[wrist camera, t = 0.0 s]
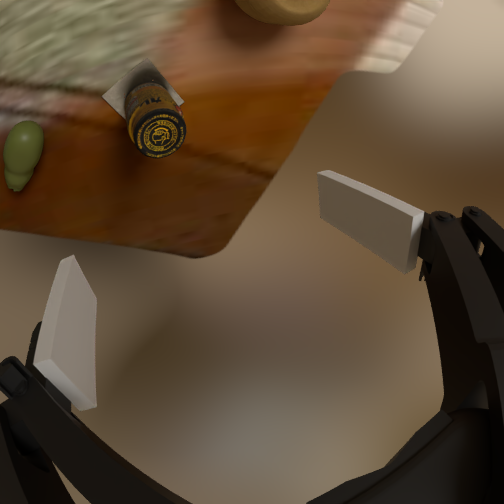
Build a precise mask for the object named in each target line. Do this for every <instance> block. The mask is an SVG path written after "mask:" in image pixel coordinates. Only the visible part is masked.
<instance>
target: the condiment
mask: <svg viewBox="0 0 504 504" xmlns="http://www.w3.org/2000/svg"><path fill="white" fill-rule="evenodd" d="M152 80H153V81H152ZM124 93H125V98H124ZM102 97H103V98H104V99H105V100H106V101H107V102H108V103H109V104H110V105H111V106H112V107H113V108H114V109H115V110H116V111H117V112H118V113H119V114H120V115H121V116H122V117H123V118H124V119H125V120H126V123H127V130H128V132H129V136H130V138H131V140H132V141H133V142H134V143H135V146H136V147H137V149H138V150H139V151H140V152H141V153H142V154H144V155H145V156H147V157H152V158H163V157H166V156H169V155H171V154H172V153H174V152H175V151H177V150H178V149H179V148H180V147H181V145H182V143H183V142H184V139H185V136H186V124H185V121H184V117H183V113H182V111H181V109H180V107H179V106H180V105H181V104H182V103H184V101H183V100H182V99H181V97H180V96H179V95H178V94H177V93H176V91H175V90H174V89H173V88H172V87H171V85H170V84H169V83H168V82H167V81H166V79H165V78H164V77H163V76H162V75H161V74H160V72H159V71H158V70H157V69H156V68H155V66H154V65H153V64H152V63H151V62H150V61H149V59H148V58H146V59H145V60H144V61H142V62H141V63H140V64H138V65H137V66H136V67H135V68H134V69H132V70H131V71H130V72H129V73H127V74H126V75H125V76H124V77H123V78H122V79H120V80H119V81H118V82H117V83H116V84H115V85H114V86H113V87H111V88H110V89H109V90H108V91H107V92H106V93H105V94H104V95H103V96H102Z"/></svg>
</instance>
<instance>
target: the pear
mask: <svg viewBox="0 0 504 504" xmlns="http://www.w3.org/2000/svg"><path fill="white" fill-rule="evenodd" d="M43 144H44V134H43V130H42V128H41V127H40V125H38V124H37V123H36V122H33V121H22V122H20V123H18V124H16V125H15V126H14V127H13V128H12V130H11V131H10V133H9V135H8V137H7V139H6V142H5V146H4V151H3V159H4V163H5V170H4V174H5V180H6V183H7V185H8V187H9V188H12V189H13V190H14V192H15V191H20V190H22V189H23V188H24V186H25V185H26V184H27V182H28V181H29V180H30V178H31V176H32V175H33V172H34V167H35V166H36V165H37V163H38V161H39V159H40V156H41V153H42V149H43Z"/></svg>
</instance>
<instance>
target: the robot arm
mask: <svg viewBox="0 0 504 504" xmlns="http://www.w3.org/2000/svg"><path fill="white" fill-rule="evenodd" d="M317 176H318V189H319V205H320V218H322V219H323V220H325V221H327V222H328V223H330V224H331V225H333V226H334V227H336V228H337V229H339V230H340V231H342V232H343V233H345V234H347V235H348V236H350V237H351V238H353V239H354V240H356V241H357V242H359V243H360V244H362V245H363V246H365V247H366V248H368V249H369V250H371V251H372V252H373V253H375V254H377V255H378V256H379V257H381V258H382V259H384V260H385V261H386V262H388V263H389V264H391V265H392V266H394V267H395V268H396V269H398V270H399V271H401V272H402V273H403V274H406V273H408V272H409V271H411V270H412V269H414V268H415V267H416V262H417V257H418V256H419V257H420V258H422V259H423V262H422V267H421V272H420V276H419V281H421V279H422V277H423V276H424V277H425V280H424V281H426V285H427V289H428V293H429V298H430V302H431V307H432V311H433V317H434V322H435V327H436V333H437V339H438V345H439V351H440V358H441V367H442V376H443V386H444V398H443V402H442V405H441V408H440V411H439V412H438V413H437V414H436V415H435V416H434V417H433V418H432V419H431V420H430V421H428V422H427V423H426V424H425V425H424V426H423V427H421V428H420V429H419V430H418V431H417V432H416V433H415V434H414V435H413V436H412V437H411V438H410V440H409V441H408V442H407V443H406V444H405V445H404V446H403V447H402V448H401V449H400V450H399V452H398V453H397V454H396V455H395V456H394V457H393V458H392V459H391V460H390V461H389V462H388V463H387V464H386V466H385V467H384V468H381V469H379V470H376V471H374V472H372V473H369V474H366V475H363V476H361V477H358V478H355V479H352V480H349V481H346V482H344V483H343V484H341V485H339V486H337V487H336V488H334V489H332V490H330V491H328V492H326V493H324V494H323V495H321V496H319V497H317V498H315V499H313V500H311V501H309V502H307V503H306V504H504V229H503V228H502V227H501V226H499V225H498V224H497V223H496V222H495V221H494V220H493V219H491V217H490V216H489V215H487V214H486V213H485V212H484V211H482V210H481V209H479V208H478V207H474V206H471V207H470V206H467V207H464V208H463V213H462V217H460V218H456V217H455V216H453V215H452V214H450V213H447V212H443V211H435V212H432V213H431V214H428V213H426V212H424V211H422V210H420V209H418V208H416V207H414V206H412V205H409V204H407V203H405V202H403V201H401V200H399V199H397V198H395V197H392V196H390V195H388V194H385V193H383V192H381V191H379V190H377V189H374V188H372V187H370V186H367V185H365V184H363V183H360V182H358V181H355V180H353V179H350V178H348V177H345V176H343V175H340V174H338V173H335V172H333V171H330V170H326V171H322V172H318V173H317ZM481 242H482V243H483V244H484V250H483V253H482V255H481V256H480V255H479V253H478V252H479V248H480V244H481ZM96 309H97V298H96V296H95V295H94V293H93V291H92V289H91V287H90V285H89V284H88V282H87V280H86V278H85V276H84V275H83V273H82V271H81V269H80V267H79V265H78V263H77V261H76V259H75V257H74V255H72V256H70V257H67V258H65V259H63V260H61V261H60V264H59V267H58V270H57V273H56V276H55V279H54V282H53V285H52V288H51V292H50V296H49V299H48V302H47V305H46V309H45V313H44V317H43V320H42V321H41V322H39V323H38V324H37V326H36V328H35V329H34V331H33V333H32V337H31V343H30V346H29V351H28V355H27V360H26V365H25V366H24V365H23V364H22V363H21V362H20V361H19V359H18V358H16V357H15V356H10V357H8V358H6V359H4V360H3V361H2V362H1V363H0V391H2V392H3V393H4V394H5V395H6V396H7V397H8V398H9V399H7V400H6V401H4V402H3V403H1V404H0V504H75V502H74V501H73V499H72V498H71V496H70V494H69V492H68V491H67V489H66V487H65V485H64V484H63V482H62V480H61V478H60V476H59V474H58V472H57V470H56V468H55V467H54V465H53V463H54V464H55V465H56V466H57V467H58V468H59V470H60V471H61V472H62V473H63V474H64V475H65V477H66V478H67V479H68V480H69V481H70V482H71V483H72V485H73V486H74V487H75V488H76V489H77V490H78V491H79V492H80V493H81V494H82V495H83V496H84V497H85V498H86V499H87V500H88V501H89V502H90V503H91V504H192V503H190V502H188V501H187V500H185V499H183V498H182V497H180V496H178V495H176V494H175V493H173V492H171V491H170V490H168V489H167V488H165V487H163V486H162V485H160V484H159V483H157V482H156V481H155V480H153V479H151V478H150V477H149V476H147V475H146V474H144V473H143V472H142V471H140V470H139V469H137V468H136V467H135V466H133V465H132V464H131V463H129V462H128V461H127V460H125V459H124V458H123V457H121V456H120V455H119V454H118V453H117V452H115V451H114V450H113V449H112V448H111V447H109V446H108V445H107V444H106V443H105V442H104V441H102V440H101V439H100V438H99V437H98V436H97V435H96V434H95V433H93V432H92V431H91V430H90V429H89V428H88V427H87V426H86V425H85V424H84V423H83V422H82V421H81V420H80V419H79V418H78V417H77V416H76V415H74V414H73V413H72V412H71V403H72V404H73V405H74V406H75V407H76V408H78V409H79V410H80V411H82V410H86V409H90V408H94V407H97V402H96V384H95V383H96V382H95V330H96ZM488 408H489V409H488ZM52 461H53V462H52Z"/></svg>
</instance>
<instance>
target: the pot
mask: <svg viewBox="0 0 504 504" xmlns="http://www.w3.org/2000/svg"><path fill="white" fill-rule="evenodd" d="M235 2H236V4H237V5H238V6H239V7H240V8H241V9H242V11H244V12H245V13H246V14H248V15H249V16H250V17H252V18H254V19H256V20H258V21H260V22H264V23H268V24H279V25H289V26H294V25H302V24H305V23H308V22H311V21H312V20H314V19H316V18H317V17H319V16H320V15H321V14H322V12H323V11H324V10H325V9H326V7H327V6H328V4H329V2H330V0H235Z"/></svg>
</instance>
